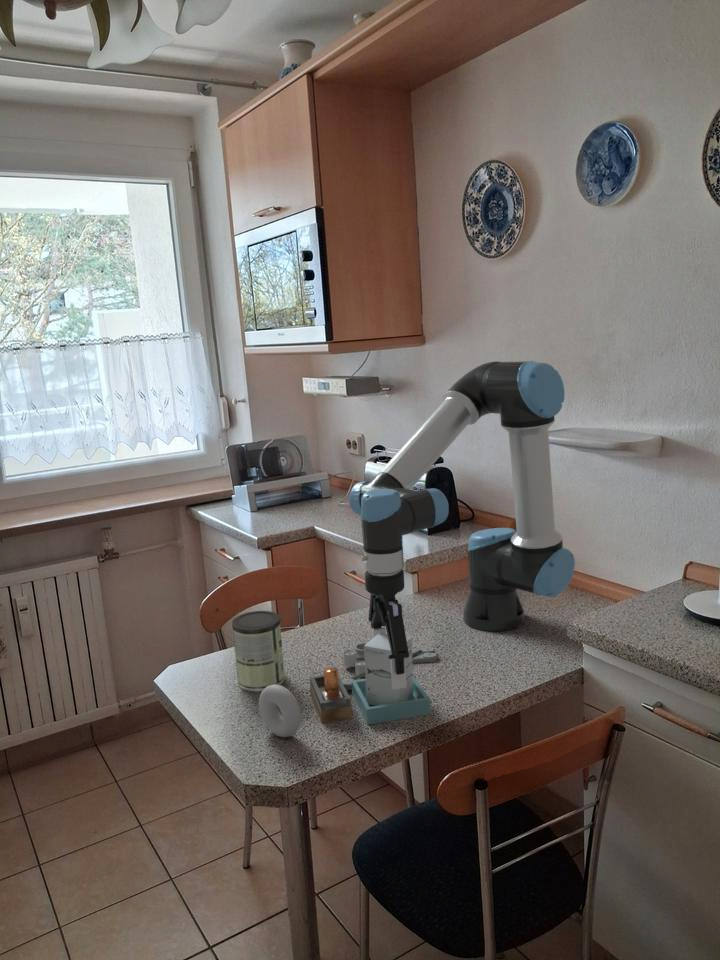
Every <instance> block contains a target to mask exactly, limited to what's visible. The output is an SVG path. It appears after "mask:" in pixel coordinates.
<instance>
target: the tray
mask: <svg viewBox="0 0 720 960" xmlns="http://www.w3.org/2000/svg"><path fill="white" fill-rule="evenodd" d="M351 682H352V689H351V694H352V697H353V699H354V701H355V703H356V704H357V707H358V709H359V711H360V713H361V715H362V717H363V718H364V721H365V723H366V725H368V726H369V725H374V724H380V723H384V722H385V723H387V722H390V721H397V720H403V719H407V718H409V719H410V718H414V717H420V716H425V715H431V698H430V697H429V695H428V694H427V693H426V692H425V690H424V688H423V687H422V686H421V684H420V683H419V682H418V680H417V679H416V677H415V676H414V675H413V696H412V697H411V698H410V699H409V701H403V702H397V703H391V704H385V705H379V706H375V705H370V704H368V703H367V701H366V680H365V678H360V679H357V680H354V681H351Z"/></svg>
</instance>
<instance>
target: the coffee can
mask: <svg viewBox="0 0 720 960" xmlns="http://www.w3.org/2000/svg"><path fill="white" fill-rule="evenodd" d="M281 620H282V619H281V615H280V614H278V613H277V612H274V611H269V610H255V611H249V612H248V611H247V612H245V613H243V614H240V615H237V616H235V617H234V618H233V619H232V621H231V627H232V633H233V643H234V655H235V666H236V674H237V677H236V678H237V685H238V687H239V688H240V689H242V690H244V691H247V692H255V693H257V692H262V691H263V690H264V689H265V688H266V687H267V686H270V685H273V684H276V685H281V686H282V684H283V683H284V681H285V680H286V676H285V668H284V667H285V666H284V654H283V643H282V630H281V622H282V621H281Z"/></svg>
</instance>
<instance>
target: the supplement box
mask: <svg viewBox="0 0 720 960" xmlns="http://www.w3.org/2000/svg"><path fill="white" fill-rule="evenodd" d="M406 641H407V646H408V652H409V657H408V658H405V662H406V684H407V688H401V689H395V690H393V689H392V681H391V661H390V659H389V658H388V657H389V655H392V653H391V649H390V644H389V640H388V635H387V633H386V634H384V633H379V634H377V635H376V636H375V637H374V638H373V639H372V638H371V639H370V640H369V641H368V642H366V643H367V644H365V645H364V656H365V677H364V679H365V680H366V701H367V703H368V704H370V705H375V706H379V705H385V704H391V703H397V702H403V701H409V699H410V698H411V697H412V696H413V676H414V673H413V666H414V665H413V663H412V659H413V657H412V653H413V638H412V637H408V636H407V637H406Z"/></svg>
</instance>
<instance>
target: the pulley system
mask: <svg viewBox="0 0 720 960" xmlns="http://www.w3.org/2000/svg"><path fill="white" fill-rule="evenodd" d="M367 643H368V642H362V643H358V644H356V645H354V647H353V648H354V650H353V649H352V650H350V649H349V650H346V651H343V652H342V660H343V662H342V664H343V666H345V667H348V668H350V667H353V668H354V667H355V669H354V670H355V675H354V676H352V677H349V678H344V679H342V680H341V681H342V683H343V685H344V687H345V689H346V691H351V690H352V682H351V681H354V680H360V679H363V678H365V656H364V645H365V644H367ZM418 654H422V656H423V657H420V658H413V657H414V656H417V655H418ZM437 660H438V656H437V652H436V649H435V647H431V646H425V647H424V646H423V647H422V648H421V649H419V650H416V651H414V652H412V664H415V663H417V664H418V663H419V664H420V663H433V662H435V661H437Z"/></svg>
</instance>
